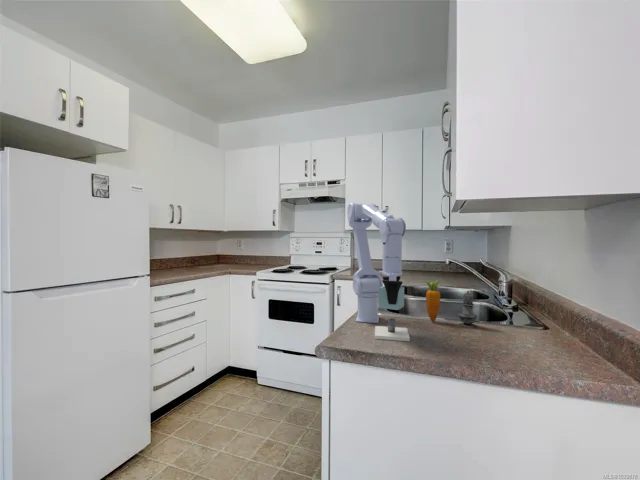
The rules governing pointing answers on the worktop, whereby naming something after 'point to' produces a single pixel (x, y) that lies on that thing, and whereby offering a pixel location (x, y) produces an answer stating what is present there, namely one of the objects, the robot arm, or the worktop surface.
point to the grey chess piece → (467, 312)
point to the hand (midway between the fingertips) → (391, 301)
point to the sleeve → (384, 301)
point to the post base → (391, 332)
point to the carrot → (433, 300)
